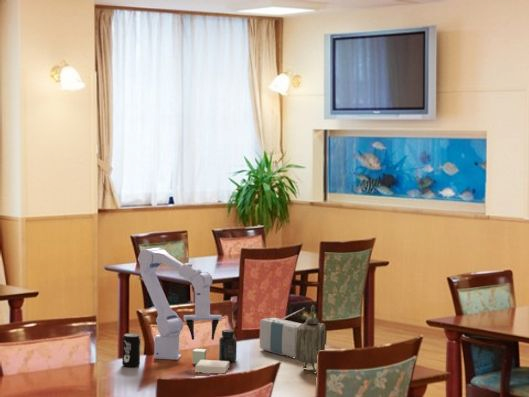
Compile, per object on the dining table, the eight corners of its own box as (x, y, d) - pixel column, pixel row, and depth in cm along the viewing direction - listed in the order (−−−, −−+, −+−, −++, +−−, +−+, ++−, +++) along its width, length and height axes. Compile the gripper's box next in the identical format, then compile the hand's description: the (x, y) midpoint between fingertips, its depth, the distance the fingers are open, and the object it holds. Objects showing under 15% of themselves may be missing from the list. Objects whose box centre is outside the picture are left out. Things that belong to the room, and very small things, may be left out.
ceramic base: (195, 373, 396) (195, 365, 396) (200, 367, 407) (200, 359, 407) (224, 375, 395) (224, 367, 394) (229, 369, 406) (229, 361, 405)
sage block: (192, 363, 410) (192, 351, 410) (194, 361, 415) (195, 348, 415) (204, 364, 410) (204, 351, 410) (206, 362, 414) (206, 349, 414)
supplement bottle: (237, 359, 420) (238, 329, 419) (235, 363, 413) (236, 332, 413) (220, 358, 421) (220, 328, 420) (217, 362, 414) (218, 331, 413)
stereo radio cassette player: (258, 350, 439) (259, 302, 437) (273, 348, 444) (274, 300, 443) (293, 359, 423) (295, 309, 422) (308, 357, 429) (310, 308, 427)
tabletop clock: (318, 375, 397) (320, 308, 396) (294, 373, 399) (296, 307, 398) (324, 367, 412) (326, 302, 410) (301, 365, 413) (303, 301, 412)
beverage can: (118, 366, 402) (119, 335, 401) (128, 363, 408) (129, 332, 407) (133, 368, 399) (134, 337, 398) (143, 365, 405) (143, 334, 404)
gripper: (182, 305, 407) (182, 341, 408) (220, 305, 407) (220, 341, 407) (184, 303, 414) (185, 337, 415) (221, 303, 414) (222, 337, 414)
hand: (202, 339), depth 412 cm, fingers open, 7 cm apart
